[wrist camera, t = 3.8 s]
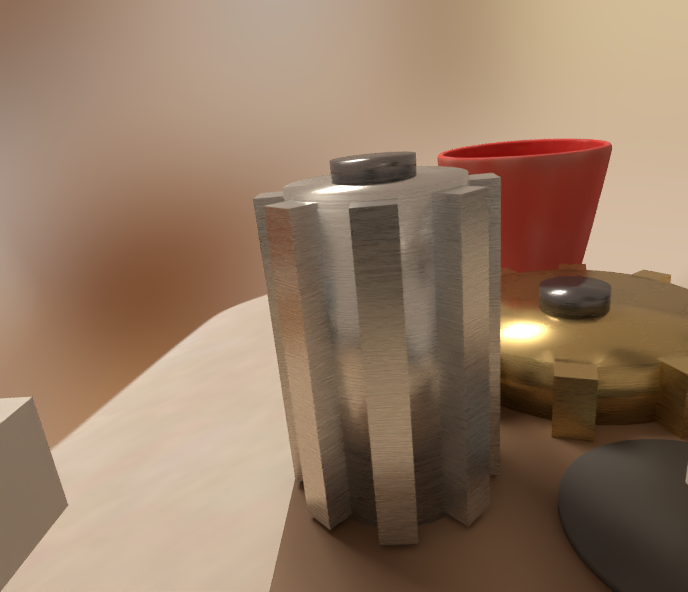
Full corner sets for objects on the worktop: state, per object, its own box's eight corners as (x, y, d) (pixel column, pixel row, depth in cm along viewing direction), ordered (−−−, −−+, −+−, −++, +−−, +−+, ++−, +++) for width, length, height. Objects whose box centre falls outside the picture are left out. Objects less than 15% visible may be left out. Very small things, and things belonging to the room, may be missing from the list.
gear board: (651, 312, 31) (653, 291, 31) (1192, 714, 10) (1221, 667, 10) (333, 332, 33) (331, 312, 32) (255, 709, 12) (247, 670, 12)
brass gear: (653, 298, 31) (659, 239, 29) (848, 432, 18) (873, 338, 17) (415, 313, 32) (412, 257, 31) (439, 449, 19) (435, 362, 18)
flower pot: (576, 321, 31) (586, 152, 28) (416, 296, 38) (408, 157, 35) (618, 271, 39) (629, 134, 36) (478, 258, 45) (477, 142, 42)
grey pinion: (478, 413, 21) (475, 138, 18) (522, 547, 15) (530, 155, 11) (310, 422, 22) (275, 157, 18) (281, 552, 15) (219, 183, 12)
